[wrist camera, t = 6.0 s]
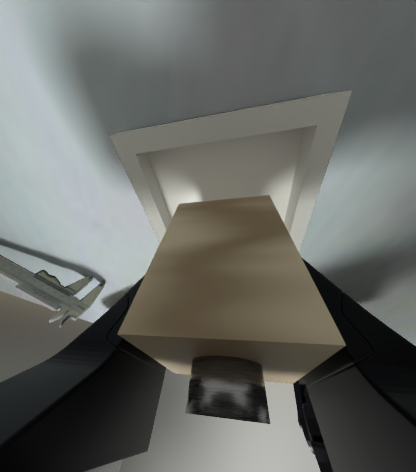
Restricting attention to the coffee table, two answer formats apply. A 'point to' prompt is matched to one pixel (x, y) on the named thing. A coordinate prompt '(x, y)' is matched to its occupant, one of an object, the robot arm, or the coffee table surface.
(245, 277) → the block
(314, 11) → the coffee table surface
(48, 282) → the caliper
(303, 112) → the housing tray
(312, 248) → the coffee table surface
